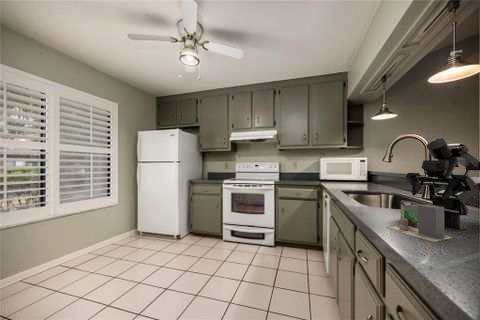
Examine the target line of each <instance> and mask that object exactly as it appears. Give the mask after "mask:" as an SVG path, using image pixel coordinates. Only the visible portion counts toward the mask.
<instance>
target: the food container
mask: <svg viewBox="0 0 480 320" xmlns="http://www.w3.org/2000/svg"><path fill="white" fill-rule="evenodd" d="M418 205H421V204H420V203H419V202H415V201H409V200H400V218H404V219H408V226H411V227H418Z"/></svg>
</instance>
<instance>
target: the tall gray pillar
mask: <svg viewBox="0 0 480 320" xmlns="http://www.w3.org/2000/svg"><path fill="white" fill-rule="evenodd" d="M417 228H418V233H420V234H424V235H427V236H431V237H435V238H438V237H442V236H446V235H445V227H444V207H441V206H434V205H433V204H429V203H428V204H420V205H418V226H417Z"/></svg>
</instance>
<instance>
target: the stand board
mask: <svg viewBox="0 0 480 320" xmlns="http://www.w3.org/2000/svg"><path fill="white" fill-rule="evenodd" d="M386 229H389V230H392V231H396V232H399V233H402V234H406V235H409V236H413V237H416V238H419V239H423V240H426V241H429V242H432V243H434V242H439V241H444V240H445V241H446V240H450V239H453V238H454V237H453V236H449V235H445V236H442V237H438V238H435V237H431V236H427V235H424V234H420V233H418V227H416V226H408V219H404V218H401V217H400V218H399V225H394V226H388V227H386Z"/></svg>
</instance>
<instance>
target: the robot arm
mask: <svg viewBox="0 0 480 320" xmlns="http://www.w3.org/2000/svg"><path fill="white" fill-rule="evenodd" d="M426 149H427V151H428V152H429V154H430V156H431V157H432V159H433V160H432V159H431V160H430V159H429V160H428V159H426V160H423V161H422V163H421V169H422V170H424V174H425V175H421V174H420V172H407V173H406V174H405V178H406V180H407V181H408V183H409V184H410V186H411V194H412V196H416V195H417V194H418V193H419V191H420V190H421V189H422V188H423V185H424V183H432V184H439V185H440V184H441V185H447V186H446V188H445V189H442V190H440V191H438V192H436V194H434V196H433V197H432V198H431V202H432V203H431V204H432V205H434V206H441V207H444V228H449V229H454V230H459V231H462V230H466V227H464V226H463V227H462V219H461V218H462V216H468V214H469V208H468V206H467V204H466V203H465V201H466V200H468V199H470V198H471V197H472V196H475V195H476V194H478V193H479V192H480V176H473V175H471V176H469V173H470V172H471V171H479V172H480V160H479V159H477V158H476V157H474V156H473V155H471V154H470V153H469V148H468V147H467V146H466V144H465V143H449V144H447V142H446V140H445V139H444V138H443V137H439V138H436V139H435V140H432V141H430V142H428V143H427V144H426ZM460 165H461V166H462V167H464V168H465V173H464V174H454V173H453V171H454V170H455V168H459V167H460ZM426 175H427V176H426ZM450 177H451V178H450Z"/></svg>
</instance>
